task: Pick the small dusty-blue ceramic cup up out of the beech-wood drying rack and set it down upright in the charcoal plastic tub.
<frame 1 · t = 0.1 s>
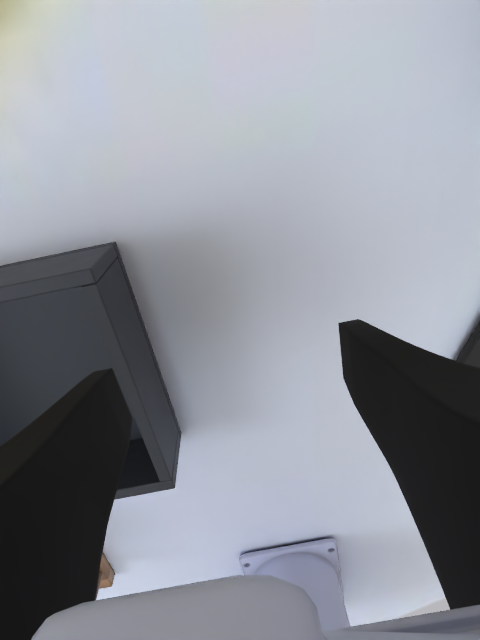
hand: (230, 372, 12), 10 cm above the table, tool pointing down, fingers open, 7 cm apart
tub: (45, 371, 23), on the table
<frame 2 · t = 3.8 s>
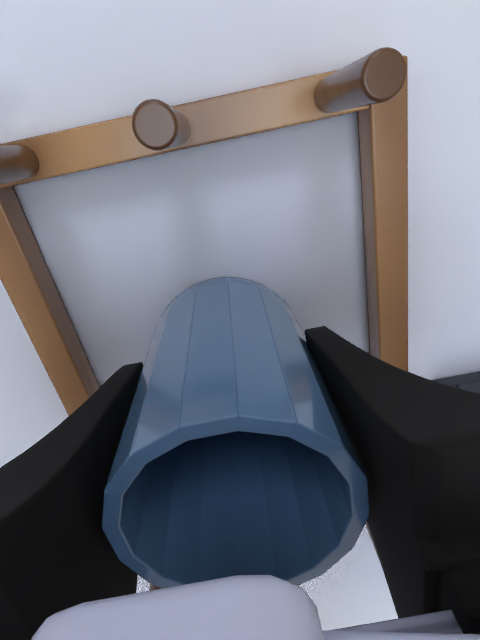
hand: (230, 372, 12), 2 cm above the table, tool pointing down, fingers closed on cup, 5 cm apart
drying rack: (229, 344, 14), on the table
cup: (227, 344, 14), resting in drying rack, touching gripper
when the fingers open (2 cm above the table, at t = 9.2 s): cup stays where it is, resting on tub.
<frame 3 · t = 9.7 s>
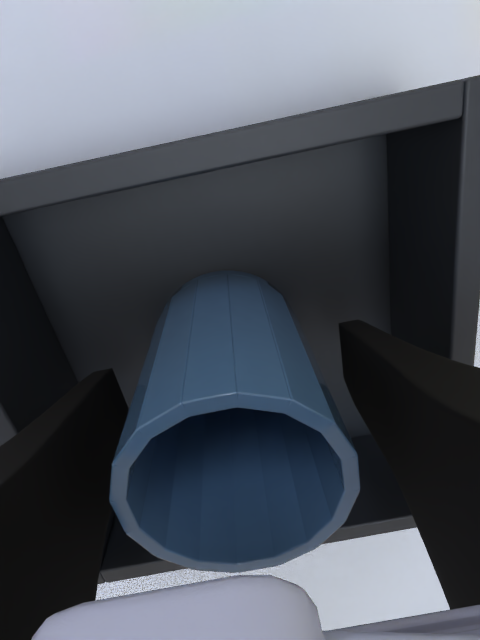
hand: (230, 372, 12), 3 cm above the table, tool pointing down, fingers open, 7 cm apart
tub: (228, 330, 15), on the table
cup: (227, 335, 14), resting on tub
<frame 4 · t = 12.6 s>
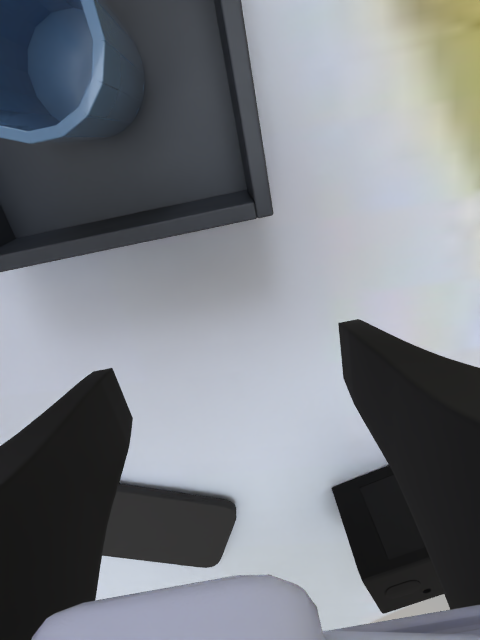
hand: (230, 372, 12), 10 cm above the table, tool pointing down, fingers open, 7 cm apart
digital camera: (403, 483, 30), on the table
tub: (90, 78, 17), on the table
phone: (133, 516, 30), on the table
cup: (86, 75, 17), resting on tub
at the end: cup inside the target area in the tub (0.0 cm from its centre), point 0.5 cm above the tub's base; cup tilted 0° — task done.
